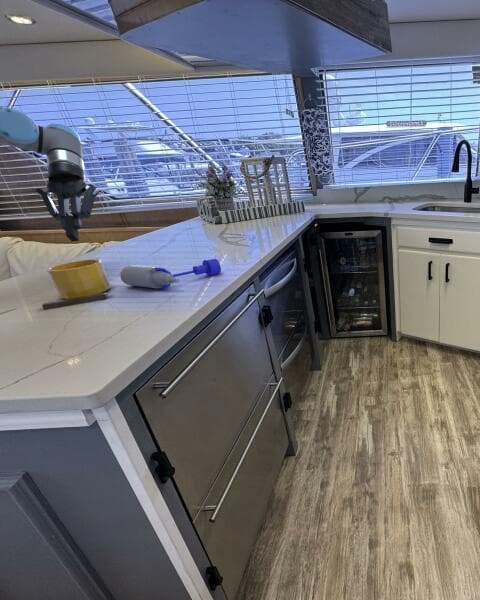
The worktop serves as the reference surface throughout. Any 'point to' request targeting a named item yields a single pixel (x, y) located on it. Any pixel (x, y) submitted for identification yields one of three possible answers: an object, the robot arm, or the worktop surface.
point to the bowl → (79, 278)
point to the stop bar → (75, 300)
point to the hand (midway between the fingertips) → (72, 238)
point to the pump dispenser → (163, 274)
